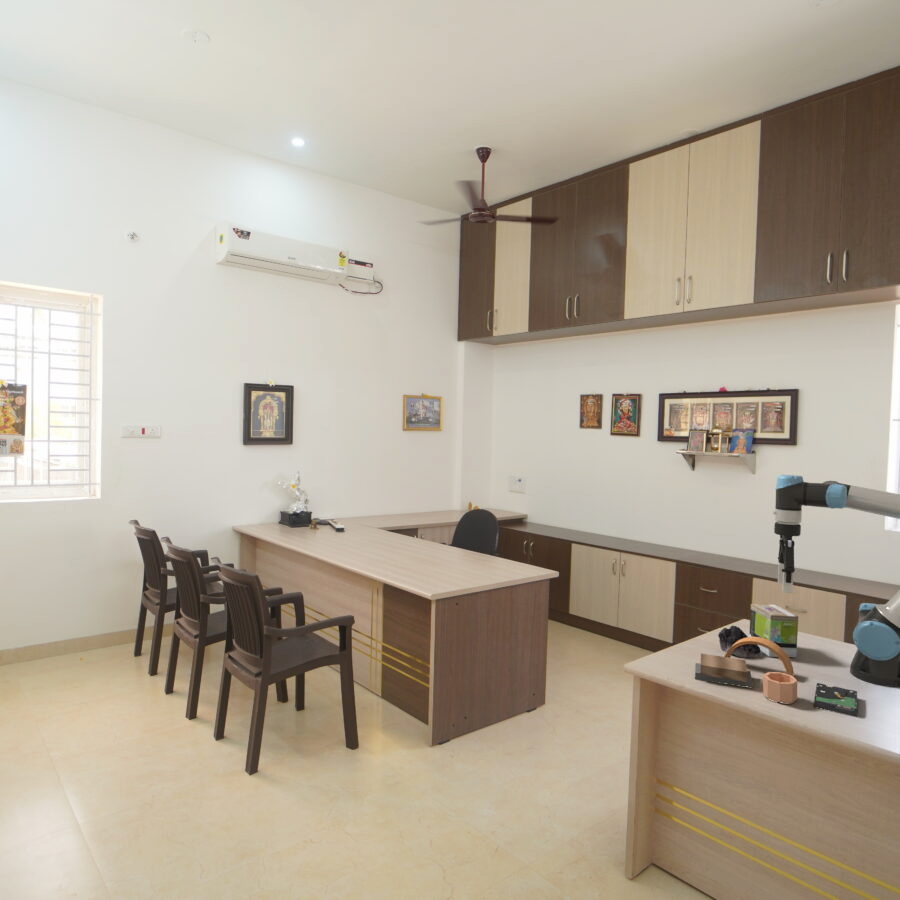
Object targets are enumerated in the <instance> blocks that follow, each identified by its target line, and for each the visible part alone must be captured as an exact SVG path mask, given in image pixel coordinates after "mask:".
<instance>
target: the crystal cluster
mask: <svg viewBox="0 0 900 900" xmlns="http://www.w3.org/2000/svg"><path fill="white" fill-rule="evenodd" d="M717 636H718V638H719V646H720V650H721V651H722V652H724V651H725V652H724V653H726V652H727V651H728V650H729V649H730V648H731V647H732V646H733V645H734V644H735V643H736V642H737V641H739V640H741V639H743V638H747V637H748V635H747V634H746V633H745V632H744V631H743V630H742V629H741V628H740V627H739V626H736V625H731V626H730V627H729V628H727V627H723V628H722V629H721V631H720V632H718V634H717ZM761 652H762V651H761V650H760V647H759V646H758V645H756V644H745V645H741V646H739V647H737V648H735V649H734V650H733V652H732V654H731V656H732V655H733V656H735V657H739V658H758V657H759V655H760V653H761Z"/></svg>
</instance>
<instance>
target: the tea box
mask: <svg viewBox="0 0 900 900" xmlns="http://www.w3.org/2000/svg"><path fill="white" fill-rule="evenodd" d="M749 615H750V616H749V633H748V634H749V635H748V637H761V638H765V639H767V640H770V641H772V642H773V643H775V644H777V645H778V646H779V647H781V648H782V650H783V651H784V652H785V653H786V654H787V656H788V657H796V658H797V652H798V651H797V649H798V647H797V646H798V635H799V615H797V614H795V613H793V612H791V611H789V610H788V609H786V608H783V607H782V606H780V605H778V604H766V603H764V604H762V603H750V614H749ZM758 646H759V647H760V650H761V651H760V652H762V653H763V654H764V655H766V656H767V657H771V658H779V657H778V656H777V655H776V654H775V653H773V652H772V651H771V650H769V649H767V648H765V647H763V646H760V645H758Z"/></svg>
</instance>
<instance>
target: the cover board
mask: <svg viewBox="0 0 900 900" xmlns="http://www.w3.org/2000/svg"><path fill="white" fill-rule="evenodd" d="M746 662H747V661H746V660H745V659H740V658H735V657H730V658H728V657H724V656H720V655H715V654H714V655H713V654H707V653H700V664H701V669H700V675H706V676H712V677H718V678H725V679H731V680H737V681H744V682H747V671H748V668H747V663H746Z"/></svg>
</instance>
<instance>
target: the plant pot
mask: <svg viewBox="0 0 900 900" xmlns="http://www.w3.org/2000/svg"><path fill="white" fill-rule="evenodd" d="M762 679H763V681H762V682H763V683H762V689H763V690H762V693H763V695H764V696H765V698H766V697H767V698H768V699H767V698H766V699H767V700H769V699H771V700H774V701H777V702H783V703H791V704H794V703H795V702H796V701H797V700H798V680H797V679H796V677H794V675H793V676H791V675H788V674H787V673H784V672H781V671H779V672H778V671H767V672H766V673H764V674H763V678H762ZM771 700H770V701H771ZM793 702H794V703H793Z"/></svg>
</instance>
